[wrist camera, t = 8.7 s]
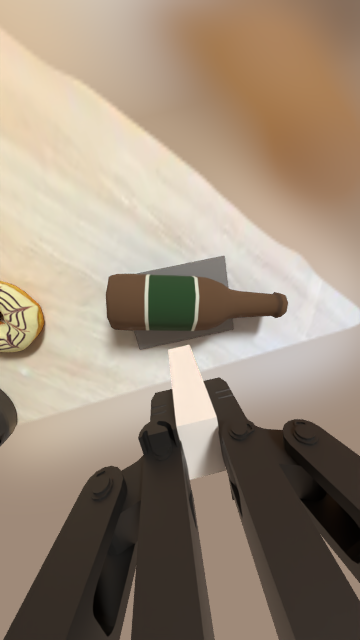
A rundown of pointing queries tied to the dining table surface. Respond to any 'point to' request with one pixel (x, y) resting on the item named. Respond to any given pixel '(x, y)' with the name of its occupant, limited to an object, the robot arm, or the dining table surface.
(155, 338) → the mat
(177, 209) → the dining table surface
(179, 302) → the beer bottle
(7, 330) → the decorated donut
